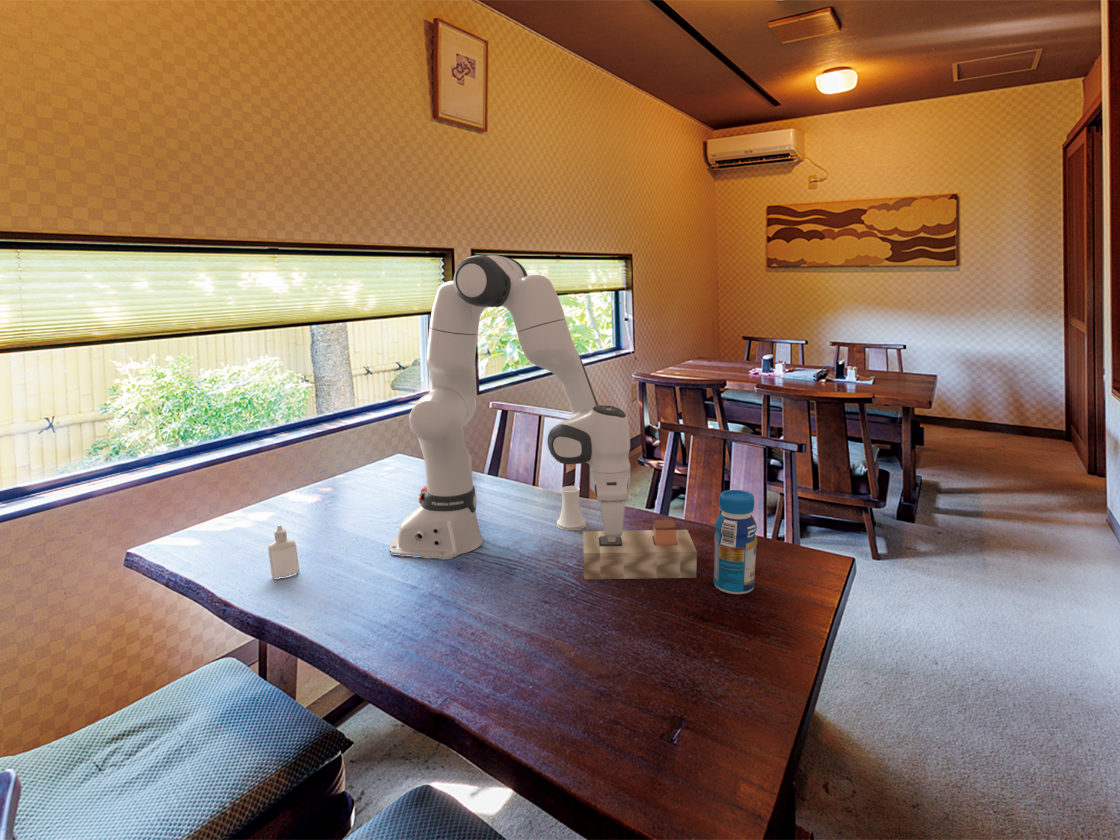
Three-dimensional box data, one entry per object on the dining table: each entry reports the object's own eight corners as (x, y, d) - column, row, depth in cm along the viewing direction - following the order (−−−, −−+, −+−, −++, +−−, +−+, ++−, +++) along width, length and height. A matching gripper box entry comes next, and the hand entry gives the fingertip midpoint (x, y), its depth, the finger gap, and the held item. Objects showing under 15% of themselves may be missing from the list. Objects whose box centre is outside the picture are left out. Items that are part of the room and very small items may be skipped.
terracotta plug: (655, 551, 138) (655, 527, 137) (653, 543, 143) (653, 520, 141) (676, 550, 138) (676, 527, 137) (673, 542, 142) (673, 519, 141)
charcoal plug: (601, 567, 139) (600, 544, 138) (600, 558, 144) (600, 536, 143) (621, 567, 139) (620, 543, 138) (619, 558, 144) (619, 535, 142)
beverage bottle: (705, 579, 134) (708, 490, 130) (742, 574, 136) (745, 486, 132) (724, 598, 126) (727, 503, 122) (763, 592, 128) (767, 499, 124)
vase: (559, 519, 170) (557, 484, 168) (586, 519, 169) (586, 484, 167) (555, 530, 163) (554, 493, 161) (584, 530, 162) (583, 493, 160)
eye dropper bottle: (295, 579, 140) (289, 528, 138) (269, 580, 140) (262, 530, 137) (301, 570, 144) (295, 520, 142) (276, 572, 144) (269, 522, 141)
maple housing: (584, 579, 136) (583, 553, 135) (583, 555, 148) (583, 531, 146) (696, 577, 135) (696, 551, 134) (686, 553, 147) (687, 529, 146)
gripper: (594, 466, 148) (595, 522, 151) (597, 496, 128) (598, 559, 131) (621, 466, 147) (622, 521, 150) (628, 495, 127) (629, 558, 130)
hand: (611, 539), depth 140 cm, fingers closed
